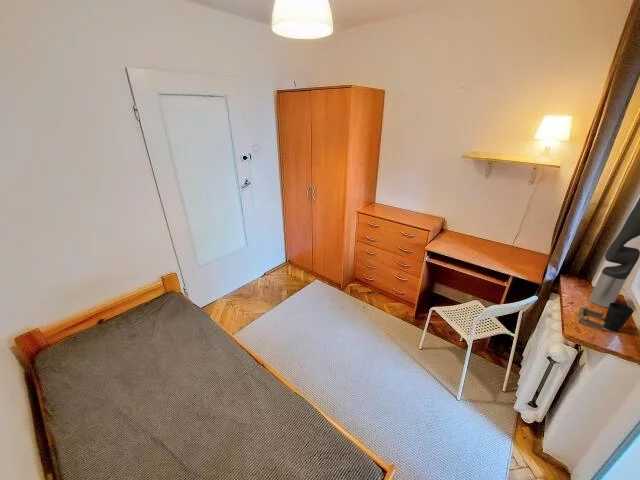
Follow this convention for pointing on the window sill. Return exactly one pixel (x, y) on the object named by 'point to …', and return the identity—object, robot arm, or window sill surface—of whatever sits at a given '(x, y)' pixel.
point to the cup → (617, 316)
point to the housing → (593, 314)
